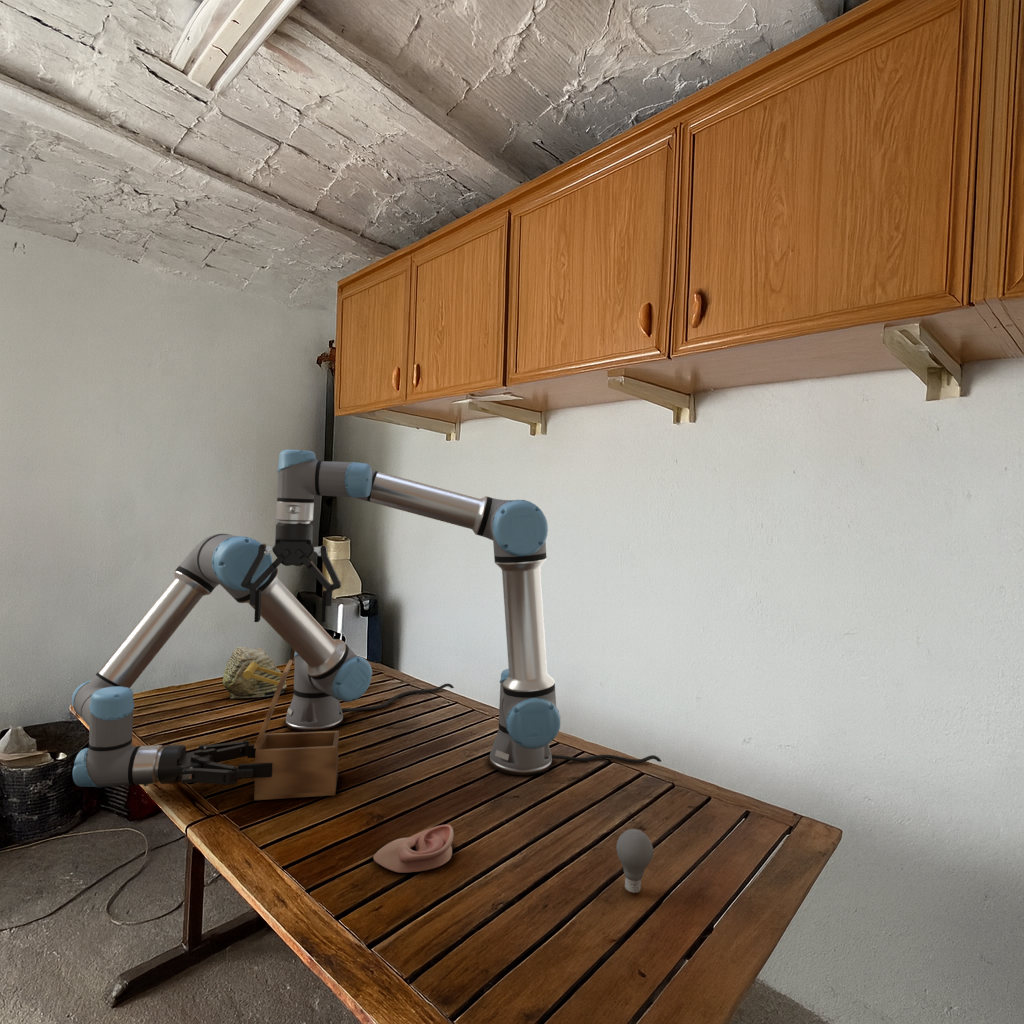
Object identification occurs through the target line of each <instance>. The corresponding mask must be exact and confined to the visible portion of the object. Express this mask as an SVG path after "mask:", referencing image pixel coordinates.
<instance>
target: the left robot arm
mask: <svg viewBox="0 0 1024 1024" xmlns="http://www.w3.org/2000/svg"><path fill="white" fill-rule="evenodd" d="M261 544H262V542H260V541H259V540H257V539H254V538H252V537H249V536H244V535H232V534H229V533H216V534H212V535H209V536H207V537H205V538H204V539H202V540H201V541H200V542H199V543H197V544H196V545H195V546H194V548H193V549H192V550H191V551H190V552H189V553H188V554H187V556H186V557H185V558H184V559H183V560H182V561H181V563H180V564H179V565H178V566H177V567H176V568H175V570H174V571H173V574H174V577H173V579H172V581H171V582H170V583H169V584H168V586H167V587H166V588H165V590H164V591H162V593H161V594H160V595H159V597H158V598H157V599H156V600H155V601H154V602H153V604H152V605H151V606H150V608H149V609H148V610H147V611H146V613H145V614H144V615H143V616H142V618H141V619H140V620H139V621H138V622H137V624H136V625H135V626H134V627H133V628H132V629H131V630H130V632H129V633H128V634H127V635H126V637H125V638H124V639H123V641H121V643H120V644H119V645H118V647H117V648H116V649H115V651H113V653H112V654H111V656H110V657H109V658H108V659H107V660H106V661H105V662H104V664H103V665H102V666H101V668H100V669H99V670H98V671H97V672H96V673H95V675H94V676H93V677H91V679H90V680H87V681H84V682H83V683H81V684H79V685H78V686H77V687H76V688H75V690H74V691H73V693H72V696H71V705H72V708H73V710H74V711H75V714H76V715H78V716H79V717H80V718H81V719H82V720H83V721H84V723H85V724H86V725H87V726H88V734H89V735H88V739H89V740H88V747H85V748H83V749H81V750H80V751H79V752H78V753H77V755H76V757H75V758H74V759H75V760H74V762H73V768H72V780H73V782H74V784H75V785H76V786H77V787H80V788H98V789H100V788H101V789H102V788H107V787H120V786H121V787H123V786H141V785H143V787H148V786H149V785H157V784H161V785H167V784H168V785H170V784H178V783H181V784H192V783H197V784H198V783H199V784H210V785H226V786H227V785H228V786H229V785H236V784H237V783H238V780H240V779H255V778H263V777H272V763H255V762H254V763H253V762H252V763H239V764H238V765H237V766H236V765H231V764H225V763H223V762H226V761H228V762H229V761H232V760H237V759H240V758H245V757H247V759H255V752H256V749H255V748H254V746H255V744H250V740H247V739H246V740H245V739H244V740H240V741H232V742H231V741H230V742H223V743H216V744H200V745H198V750H197V749H196V750H195V751H188V750H187V747H186V745H185V744H167V745H165V746H164V745H162V744H156V745H155V744H154V745H153V744H152V745H138V746H137V745H136V746H135V745H133V730H134V729H133V727H134V725H133V724H134V710H135V702H134V692H133V690H132V689H131V687H133V685H134V684H135V682H136V681H137V680H138V679H139V677H140V676H141V675H142V674H143V672H144V671H145V670H146V668H148V666H149V665H150V664H151V662H152V661H153V660H154V659H155V657H156V656H157V655H158V654H159V652H160V651H161V649H162V648H163V647H164V646H165V645H166V643H167V642H168V641H169V640H170V638H171V637H172V636H173V634H174V633H175V632H176V631H177V630H178V628H179V627H180V626H181V625H182V624H183V622H184V621H185V619H186V618H187V617H188V615H189V614H190V613H192V611H193V609H194V608H195V607H196V606H197V604H198V603H199V601H201V599H202V598H203V597H205V596H209V595H211V594H212V593H213V591H214V590H215V589H216V588H217V587H218V586H219V585H220V586H221V587H222V588H223V589H224V590H225V592H227V593H228V595H230V596H231V597H232V599H234V600H235V601H236V602H237V603H238V604H248V605H250V590H249V589H247V588H243V587H241V583H242V581H243V580H244V578H245V576H246V574H247V573H248V571H249V569H250V567H251V566H252V564H253V562H254V560H255V559H256V557H257V555H258V550H259V546H260V545H261ZM270 552H271V551H270ZM270 552H269V554H267V555H265V557H264V559H263V561H262V562H261V564H260V566H259V568H258V569H257V571H256V573H255V575H254V576H253V578H252V580H251V583H254V582H255V581H256V580H257V579H258V578H259V577H260V576H261V575H262V574H263V573H264V572H265V571H266V569H267V568H268V567H269V566H270V565H271V564H272V563H273V562H274V561H273V557H272V555H271V553H270ZM278 577H279V568H278V567H277V568H276V569H275V570H274V571H273V572H272V573H271V574H270V575H269V576H268V577H267V578H266V579H265V581H264V582H263V583H262V584H261V585H260V586H259V587H258V588H257V590H258V589H261V617H260V618H262V619H263V620H264V621H265V622H266V623H267V624H268V625H269V626H270V627H271V628H272V629H273V630H274V632H276V634H278V635H279V636H280V637H281V638H282V640H283V641H285V642H286V643H287V645H288V646H289V647H290V648H291V649H292V650H293V651H294V655H293V657H294V672H293V695H292V696H293V697H292V699H291V702H290V704H289V707H288V709H287V711H286V712H287V713H286V715H285V726H286V728H287V729H289V730H291V731H294V732H319V731H330V730H332V729H335V728H337V727H339V726H340V725H342V723H343V722H344V714H343V713H346V712H349V713H350V712H353V713H354V712H365V711H373V710H379V709H382V708H385V707H387V706H388V705H390V704H391V703H392V702H393V701H395V700H397V699H400V698H401V697H402V698H403V697H404V696H408V695H412V694H422V693H432V692H433V693H435V692H438V691H440V690H442V689H445V688H447V687H448V688H450V689H454V688H455V687H454V685H453V684H451V683H444V684H441V685H440V686H438V687H434V688H427V689H426V688H424V689H414V690H408V691H404V692H401V693H398V694H396V695H394V696H392V697H390V698H389V699H388V700H387V701H386V702H384V703H382V704H377V705H373V706H366V707H365V706H363V707H346V708H345V707H343V708H342V706H341V702H345V703H350V702H353V701H354V702H355V701H357V700H358V699H359V698H361V697H362V696H363V695H364V694H365V693H366V692H367V690H368V688H369V687H370V685H371V682H372V676H373V669H372V666H371V664H370V662H369V661H368V660H367V659H366V658H365V657H363V656H359V655H357V654H356V653H355V652H354V651H353V650H352V649H351V648H350V647H349V645H348V644H346V643H345V641H343V640H342V639H339V638H333V637H332V636H331V635H330V634H329V633H328V632H327V631H326V629H325V628H324V627H323V626H322V625H321V624H320V622H318V621H317V620H316V619H315V618H314V617H313V615H312V614H311V613H310V612H309V611H308V610H307V609H306V607H305V606H304V605H303V604H302V603H301V602H300V601H299V600H298V599H297V598H296V596H295V595H293V593H292V592H291V591H290V590H289V589H288V588H287V587H286V586H285V585H284V583H283V582H282V581H281V580H280V579H279V578H278ZM251 608H252V609H253V610H255V606H251ZM340 701H341V702H340Z"/></svg>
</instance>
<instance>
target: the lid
mask: <svg viewBox="0 0 1024 1024" xmlns="http://www.w3.org/2000/svg"><path fill="white" fill-rule="evenodd" d="M293 662H294V660H293V659H288V662H287V663H286V666H285V667H284V670H283V671H282V672H281V671H280V672H281V673H280V672H276V671H273V670H270V669H266V668H263V667H260V666H258V664H257V663H256V662H252V663H250V665H249V666H248V667H247V669H246V670H245V672H244V673H243V678H244V679H250V678H254V679H257V680H260V681H264V682H267V683H270V684H274V685H277V686H278V687H277V689H276V692H275V695H273V697H272V700H271V702H270V705H269V707H268V710H267V713H266V715H265V718H264V720H263V723H262V726H261V728H260V730H259V733H258V736H257V739H256V741H255V743H254V745H255V746H254V748H255V749H258V747H259V745H260V743H261V740H262V738H263V736H264V734H266V731H267V729H268V727H269V724H270V721H271V718H272V716H273V714H274V711H275V708H276V706H277V703H278V701H279V698H280V695H281V694H282V693H281V690H282V688H283V685H284V683H285V680H286V681H287V677H288V675H289V672H290V670H291V667H292V664H293ZM256 670H259V671H262V672H266V673H269V674H272V675H276V676H279V677H281V679H280V682H279V681H275V680H272V679H269V678H265V677H262V676H259V675H255V674H254V673H255V671H256Z"/></svg>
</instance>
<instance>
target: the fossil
mask: <svg viewBox="0 0 1024 1024" xmlns="http://www.w3.org/2000/svg"><path fill="white" fill-rule="evenodd" d="M252 662H256V663H257V664H258V666H260V667H263V668H266V669H270V670H273V671H276V672H280V673H282V672H281V669H279V668H278V667H277V665H276V663H275V662H274V660H273V659H272V658H271V657H270V656H269V655H268V654H267V653H266V652H265V650H264V649H263V648H260V647H258V648H251V647H247V646H246V647H245V646H238V647H237V648H236V649H235V650H233V651H232V653H231V656H230V657H229V659H228V660H227V663H226V666H225V668H224V671H223V675H222V676H223V677H222V685H223V687H224V688H225V690H226V691H228V693H229V698H230V699H250V698H264V697H271V696H274V695H275V692H276V689H277V687H278V686H277V685H274V684H270V683H267V682H264V681H260V680H257V679H254V678H250V679H244V678H243V673H244V672H245V670H246V669H247V667H248V666H249V665H250V663H252ZM254 674H255V675H259V676H262V677H265V678H269V679H272V680H275V681H279V682H280V679H281V677H279V676H276V675H272V674H269V673H266V672H262V671H259V670H256V671H255V673H254ZM287 687H288V686H287V679H286V680H285V683H284V685H283V688H282V690H281V693H280V694H284V693H285V691H286V689H287Z"/></svg>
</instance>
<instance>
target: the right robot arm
mask: <svg viewBox="0 0 1024 1024" xmlns="http://www.w3.org/2000/svg"><path fill="white" fill-rule="evenodd" d="M276 473H277V491H276V492H277V493H276V512H275V519H276V521H278V522H276V524H275V536H274V539H275V541H274V543H273V545H270V544H266V543H261V545H260V546H259V550H258V555H257V557H256V559H255V560H254V562H253V564H252V566H251V567H250V569H249V571H248V573H247V574H246V576H245V578H244V580H243V581H242V583H241V587H243V588H247V589H249V590H250V604H249V606H250V607H252V606H255V609H254V621H253V622H254V623H259V622H260V621H261V618H262V617H261V589H258V590H257V588H258V587H259V586H260V585H261V584H262V583H263V582H264V581H265V579H266V578H267V577H268V576H269V575H270V574H271V573H272V572H273V571H274V570H275V569H276V568H278V567H279V566H280V565H283V566H285V567H290V566H295V567H301V566H303V565H304V566H305V567H306V568H307V570H309V571H310V573H311V574H312V575H313V576H314V577H315V579H316V580H317V582H319V583H320V584H321V586H322V587H323V588H324V590H322V595H321V597H322V598H321V599H322V600H321V602H322V603H321V622H320V623H326V621H327V607H331V606H332V604H333V591H335V590H339V589H341V587H342V583H341V581H340V577H338V574H337V572H336V570H335V568H334V566H333V563H332V561H331V560H330V559H331V558H330V557H329V554H328V546H327V545H325V544H323V545H320V546H314V543H313V533H314V532H313V531H314V526H313V524H312V523H311V522H312V521H314V507H315V503H314V502H315V496H317V497H318V496H319V497H320V496H323V497H326V496H327V497H337V498H338V497H340V498H352V499H356V500H361V501H365V502H370V503H374V504H376V505H380V506H384V507H388V508H391V509H395V510H399V511H402V512H406V513H409V514H410V513H411V514H413V515H417V516H421V517H424V518H428V519H432V520H436V521H440V522H443V523H446V524H451V525H454V526H458V527H461V528H466V529H468V530H469V529H470V530H472V532H473V533H474V535H475V536H478V537H479V536H480V537H483V538H485V539H488V540H491V541H492V543H493V544H492V547H493V558H494V560H493V561H494V564H495V565H496V566H497V567H499V568H500V569H501V575H502V576H501V577H502V578H501V579H502V590H503V591H502V592H503V605H504V606H503V607H504V620H505V635H506V636H505V637H506V648H507V649H506V650H507V665H508V668H505V669H503V670H502V671H501V673H500V680H499V684H500V685H499V704H498V705H499V708H498V727H497V732H496V735H495V738H494V742H493V744H492V747H491V749H490V753H489V765H490V766H491V767H492V768H493V769H495V770H496V771H498V772H500V773H504V774H507V775H513V776H535V775H541V774H543V773H545V772H547V771H549V770H550V769H551V767H552V765H553V764H552V763H553V759H554V760H564V761H566V760H567V761H571V762H589V761H593V760H594V761H595V760H599V759H610V760H616V761H620V762H625V763H631V764H643V763H646V762H648V761H650V760H655V761H657V762H658V763H661V762H662V759H661V758H660V757H659V756H657V755H653V754H652V755H651V754H650V755H648V756H645V757H643V758H640V759H639V758H638V759H634V758H627V757H623V756H619V755H613V754H596V755H592V756H586V757H575V756H569V755H557V754H552V751H551V748H550V744H551V743H552V741H554V740H555V739H556V738H557V736H558V734H559V732H560V728H561V713H560V711H559V709H558V707H557V696H556V681H555V678H554V677H553V676H551V675H550V674H549V673H548V662H547V648H546V647H547V646H546V632H545V619H544V602H543V601H544V600H543V590H542V589H543V585H542V584H543V583H542V571H541V568H542V566H543V565H544V563H545V562H546V561H547V557H548V556H547V544H546V543H547V538H548V536H549V535H548V533H549V524H548V520H547V518H546V516H545V513H544V512H543V511H542V509H541V508H539V506H538V505H536V504H535V503H534V502H531V501H529V500H526V499H500V498H494V497H490V496H487V495H486V496H484V497H482V498H478V497H475V496H470V495H468V494H463V493H459V492H456V491H452V490H449V489H444V488H441V487H437V486H434V485H430V484H426V483H423V482H419V481H415V480H413V479H412V480H411V479H407V478H404V477H401V476H397V475H393V474H389V473H386V472H382V471H378V470H374V469H372V466H371V465H370V464H369V463H367V462H357V461H323V460H319V459H317V456H316V453H315V452H314V451H313V450H305V449H303V450H302V449H284V450H283V449H282V450H281V451H280V452H279V455H278V465H277V470H276ZM269 552H273V554H274V556H275V557H276V558H275V560H274V561H273V563H272V564H271V565H270V566H269V567H268V568H267V569H266V571H265V572H264V573H263V574H262V575H261V576H260V577H259V578H258V579H257V580H256V581H255V582H254V583H251V580H252V578H253V576H254V575H255V573H256V571H257V569H258V568H259V566H260V564H261V562H262V561H263V559H264V557H265V555H267V554H269ZM314 553H316V554H317V556H318V557H321V560H322V562H323V565H324V566H325V569H326V571H327V573H328V575H329V578H330V580H331V582H332V583H331V582H330V581H329V580H328V579H327V578H326V576H325V575H324V574H323V573H322V571H321V570H320V569H319V568H318V567H317V566H316V564H315V563H314V561H313V560H312V559H311V556H313V554H314Z"/></svg>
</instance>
